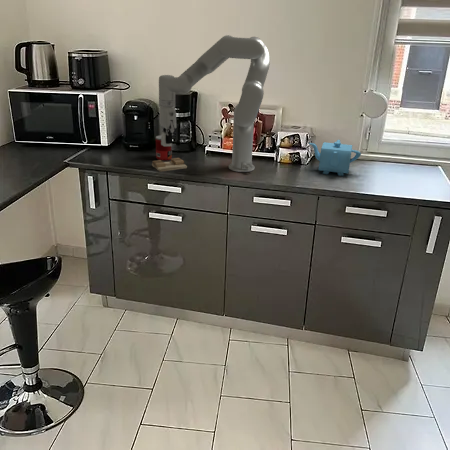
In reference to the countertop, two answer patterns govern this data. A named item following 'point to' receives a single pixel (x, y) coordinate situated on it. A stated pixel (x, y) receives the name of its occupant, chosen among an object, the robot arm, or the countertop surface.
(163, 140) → the tab
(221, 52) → the robot arm
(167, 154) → the canned food
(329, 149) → the teakettle
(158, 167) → the board
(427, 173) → the countertop surface
